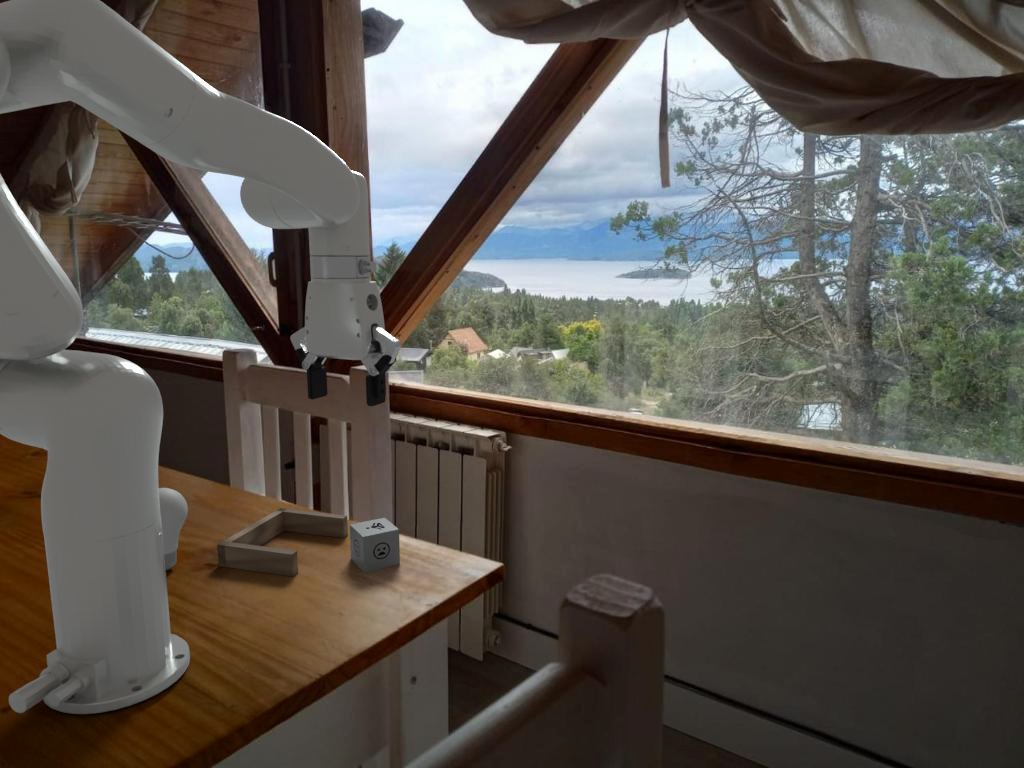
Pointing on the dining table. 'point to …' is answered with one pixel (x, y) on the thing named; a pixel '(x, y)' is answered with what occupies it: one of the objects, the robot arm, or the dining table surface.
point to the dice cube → (374, 544)
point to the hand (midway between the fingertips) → (346, 400)
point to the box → (246, 543)
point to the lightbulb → (171, 522)
